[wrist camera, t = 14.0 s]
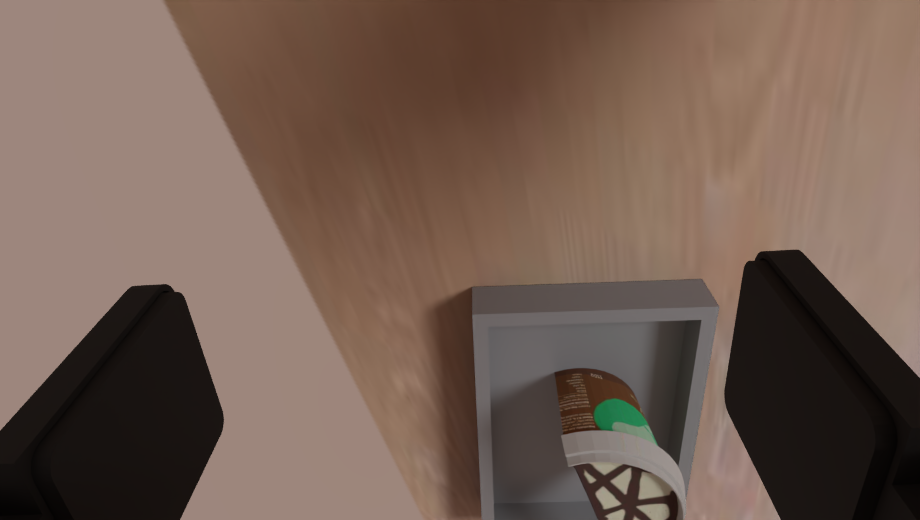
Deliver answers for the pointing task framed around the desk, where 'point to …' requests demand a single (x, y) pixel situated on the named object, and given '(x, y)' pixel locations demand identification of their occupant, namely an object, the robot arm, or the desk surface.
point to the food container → (616, 449)
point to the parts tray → (581, 346)
